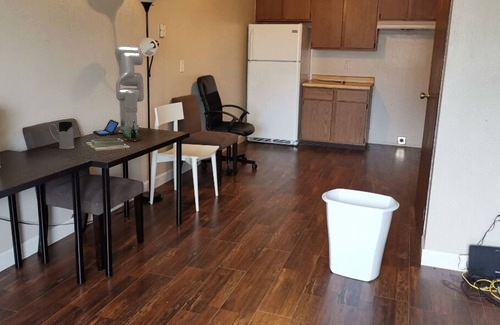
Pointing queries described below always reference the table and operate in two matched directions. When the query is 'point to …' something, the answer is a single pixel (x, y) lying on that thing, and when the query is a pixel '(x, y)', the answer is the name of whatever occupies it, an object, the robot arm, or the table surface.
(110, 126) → the game console
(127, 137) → the food container
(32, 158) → the table surface
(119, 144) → the stand
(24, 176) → the table surface
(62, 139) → the grey pitcher
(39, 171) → the table surface
